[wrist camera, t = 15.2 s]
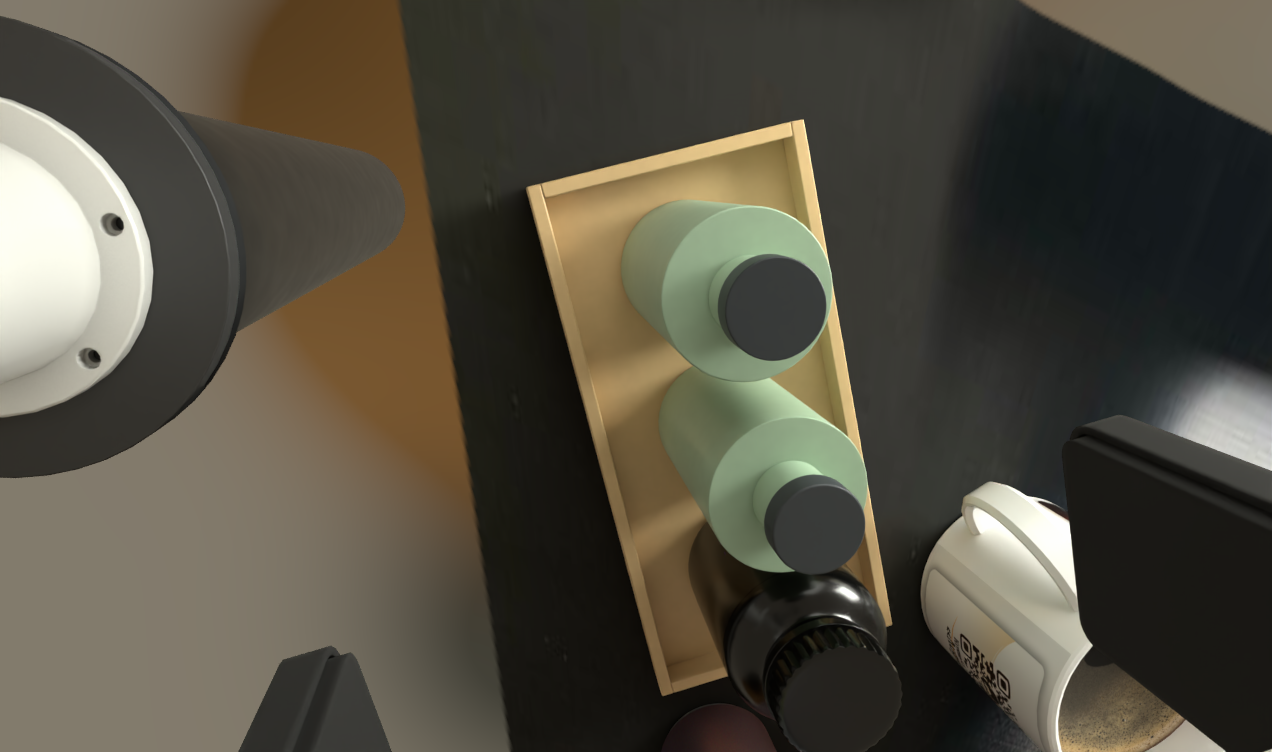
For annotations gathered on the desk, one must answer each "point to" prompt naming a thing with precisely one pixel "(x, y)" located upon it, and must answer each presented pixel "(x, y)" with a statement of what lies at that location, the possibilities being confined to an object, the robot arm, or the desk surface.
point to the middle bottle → (766, 472)
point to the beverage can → (718, 731)
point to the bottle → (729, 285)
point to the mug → (1037, 632)
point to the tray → (674, 364)
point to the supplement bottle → (799, 648)
